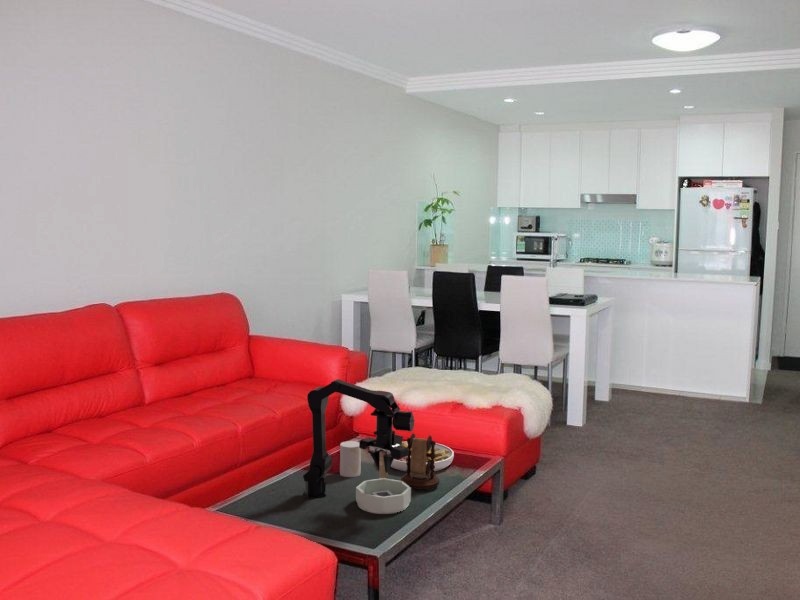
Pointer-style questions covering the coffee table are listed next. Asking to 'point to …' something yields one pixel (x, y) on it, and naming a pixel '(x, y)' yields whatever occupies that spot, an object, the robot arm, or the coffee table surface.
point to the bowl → (441, 459)
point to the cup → (350, 459)
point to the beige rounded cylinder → (382, 465)
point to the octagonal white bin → (383, 496)
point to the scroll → (420, 464)
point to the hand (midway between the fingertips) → (383, 471)
